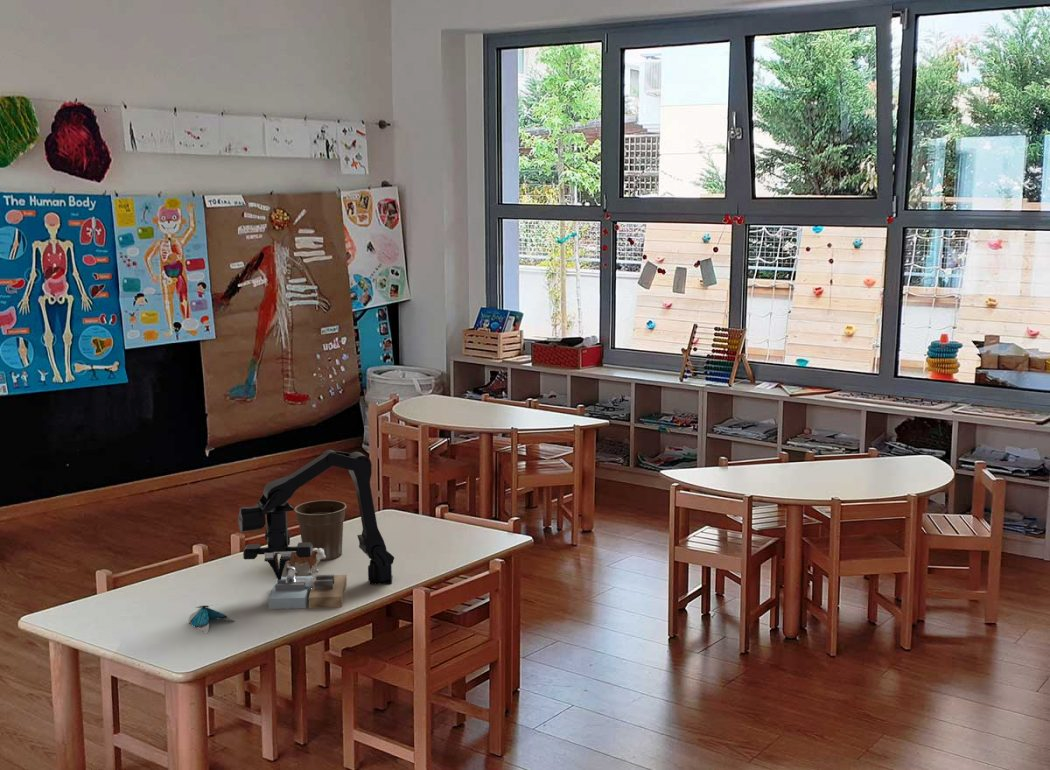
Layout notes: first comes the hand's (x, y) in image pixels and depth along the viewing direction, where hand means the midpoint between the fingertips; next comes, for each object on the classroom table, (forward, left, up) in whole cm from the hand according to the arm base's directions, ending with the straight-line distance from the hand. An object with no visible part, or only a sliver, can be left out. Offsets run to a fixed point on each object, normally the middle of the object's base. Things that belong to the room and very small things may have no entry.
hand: (279, 579), depth 309 cm
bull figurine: (-5, -21, -6) cm, 22 cm away
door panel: (-3, 0, -5) cm, 6 cm away
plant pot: (-8, -37, -6) cm, 38 cm away
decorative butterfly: (+17, +18, -6) cm, 25 cm away
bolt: (-6, 0, -2) cm, 6 cm away
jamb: (-14, 0, -5) cm, 15 cm away
